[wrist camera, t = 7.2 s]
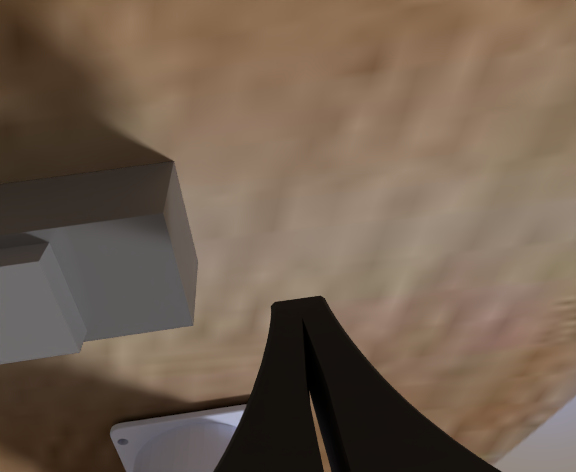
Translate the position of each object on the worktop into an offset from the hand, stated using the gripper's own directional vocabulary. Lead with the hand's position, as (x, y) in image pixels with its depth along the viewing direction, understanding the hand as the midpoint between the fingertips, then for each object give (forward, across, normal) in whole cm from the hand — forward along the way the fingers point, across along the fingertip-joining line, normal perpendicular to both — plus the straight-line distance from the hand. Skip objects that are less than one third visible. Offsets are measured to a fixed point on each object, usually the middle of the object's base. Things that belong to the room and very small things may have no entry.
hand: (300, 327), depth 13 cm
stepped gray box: (+7, +7, 0) cm, 10 cm away
